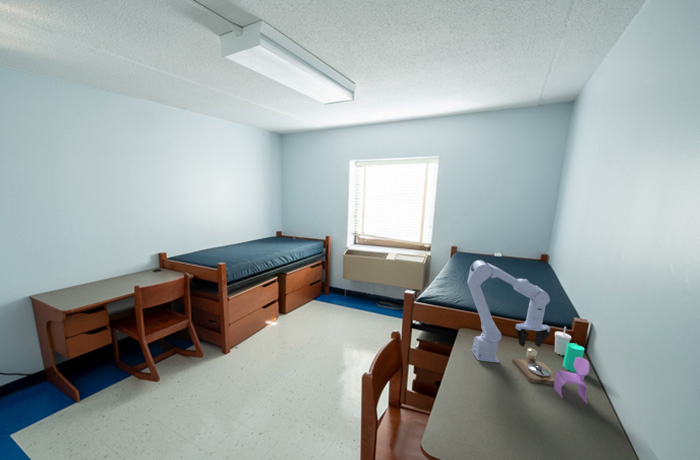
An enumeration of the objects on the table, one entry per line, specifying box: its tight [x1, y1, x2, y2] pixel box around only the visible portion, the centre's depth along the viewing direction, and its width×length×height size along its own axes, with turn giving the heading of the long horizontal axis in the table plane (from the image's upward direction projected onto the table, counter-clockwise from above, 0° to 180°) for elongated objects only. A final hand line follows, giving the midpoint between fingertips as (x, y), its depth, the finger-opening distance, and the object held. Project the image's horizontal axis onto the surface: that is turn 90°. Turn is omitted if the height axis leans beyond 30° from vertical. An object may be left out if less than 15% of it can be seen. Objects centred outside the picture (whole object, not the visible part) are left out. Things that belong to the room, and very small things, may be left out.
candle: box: [562, 342, 585, 373], centre depth 119 cm, size 6×6×12 cm
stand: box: [512, 358, 556, 386], centre depth 114 cm, size 13×13×2 cm
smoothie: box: [554, 326, 572, 356], centre depth 130 cm, size 6×6×14 cm
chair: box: [553, 357, 591, 405], centre depth 101 cm, size 8×9×15 cm
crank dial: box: [525, 347, 550, 377], centre depth 115 cm, size 12×8×5 cm, turn 172°
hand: (529, 345), depth 118 cm, fingers open, 7 cm apart
